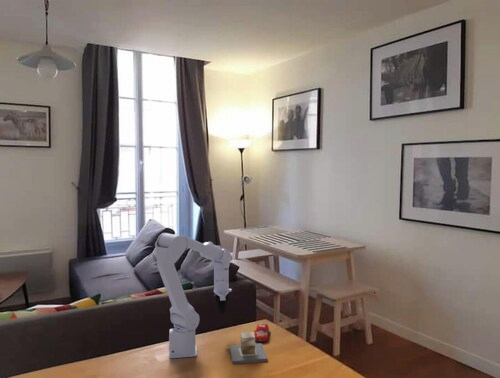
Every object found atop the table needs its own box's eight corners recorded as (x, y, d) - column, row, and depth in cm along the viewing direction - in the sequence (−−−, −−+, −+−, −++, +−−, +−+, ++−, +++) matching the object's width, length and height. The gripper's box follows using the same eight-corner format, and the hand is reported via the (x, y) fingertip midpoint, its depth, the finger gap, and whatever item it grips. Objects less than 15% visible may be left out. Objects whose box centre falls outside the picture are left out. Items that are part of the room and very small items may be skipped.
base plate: (232, 363, 131) (232, 360, 131) (229, 348, 143) (229, 345, 143) (267, 361, 133) (267, 358, 133) (261, 345, 145) (261, 342, 145)
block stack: (242, 354, 136) (242, 337, 135) (240, 349, 140) (240, 332, 140) (255, 353, 136) (255, 337, 136) (253, 348, 141) (253, 331, 141)
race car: (267, 344, 147) (267, 334, 147) (252, 343, 148) (252, 333, 147) (270, 330, 160) (270, 320, 160) (257, 329, 161) (257, 320, 160)
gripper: (233, 283, 146) (233, 318, 147) (229, 273, 161) (230, 305, 161) (214, 284, 145) (214, 320, 146) (212, 274, 160) (213, 306, 160)
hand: (221, 312), depth 154 cm, fingers closed
